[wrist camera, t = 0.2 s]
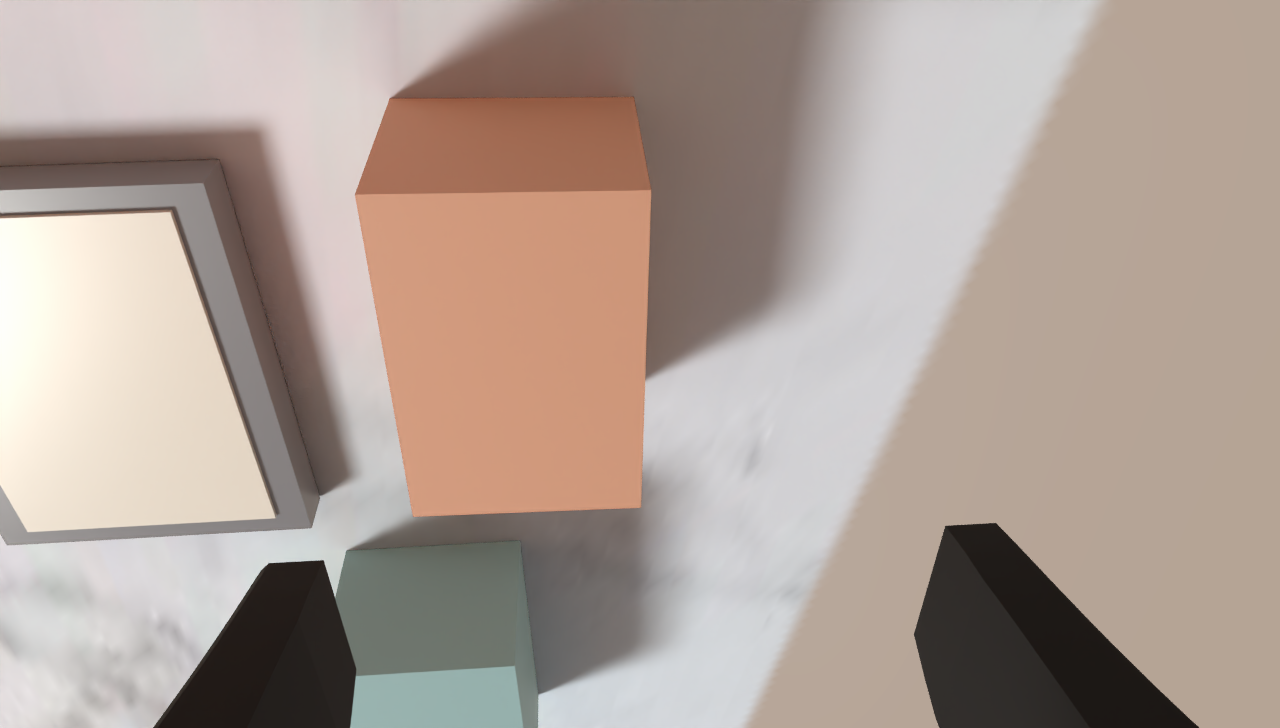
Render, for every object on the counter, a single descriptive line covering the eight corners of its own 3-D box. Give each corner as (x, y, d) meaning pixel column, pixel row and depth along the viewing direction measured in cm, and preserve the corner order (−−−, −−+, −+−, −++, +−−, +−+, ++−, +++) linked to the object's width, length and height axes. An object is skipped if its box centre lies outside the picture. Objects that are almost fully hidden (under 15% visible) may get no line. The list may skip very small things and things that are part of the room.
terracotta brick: (627, 383, 22) (640, 507, 19) (432, 389, 21) (413, 516, 18) (633, 93, 18) (651, 189, 14) (391, 95, 17) (355, 194, 14)
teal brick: (538, 690, 29) (536, 818, 26) (391, 699, 29) (371, 829, 25) (519, 535, 25) (514, 666, 21) (347, 545, 24) (316, 678, 21)
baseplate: (320, 497, 23) (310, 531, 22) (25, 514, 23) (5, 548, 22) (218, 159, 18) (201, 185, 17) (-171, 172, 17) (-210, 200, 16)
